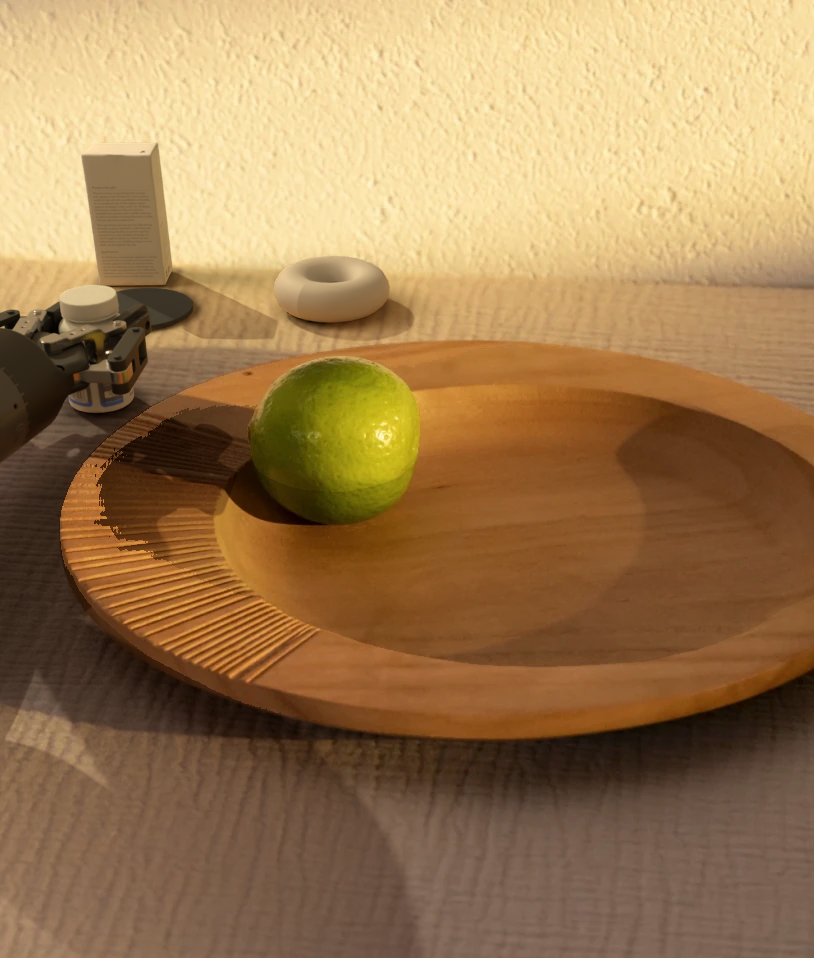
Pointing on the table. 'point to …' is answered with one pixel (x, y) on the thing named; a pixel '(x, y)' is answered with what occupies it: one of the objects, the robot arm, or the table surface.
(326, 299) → the donut
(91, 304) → the pill bottle
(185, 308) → the coaster
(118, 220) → the cosmetic box
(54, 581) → the table surface
